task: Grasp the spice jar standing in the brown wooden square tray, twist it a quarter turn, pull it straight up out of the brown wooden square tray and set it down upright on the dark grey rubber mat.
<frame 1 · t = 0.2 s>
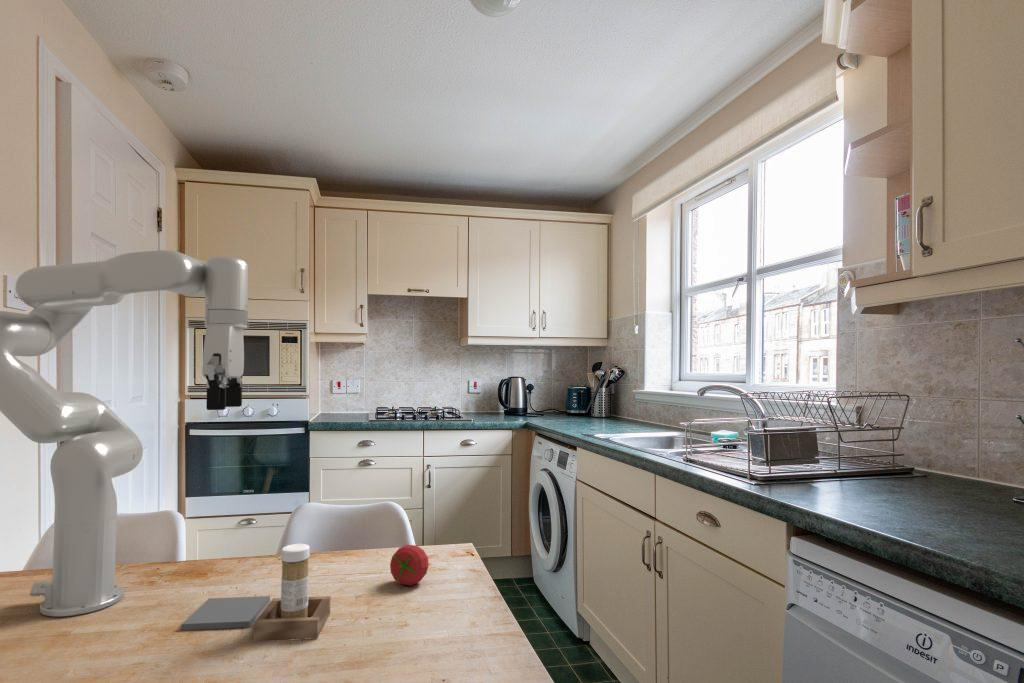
hand: (224, 408, 112), 36 cm above the table, tool pointing down, fingers open, 9 cm apart
brown wooden square tray: (294, 626, 98), on the table
spice jar: (294, 627, 98), resting in brown wooden square tray
mat: (228, 614, 102), on the table
tomato: (408, 585, 118), on the table
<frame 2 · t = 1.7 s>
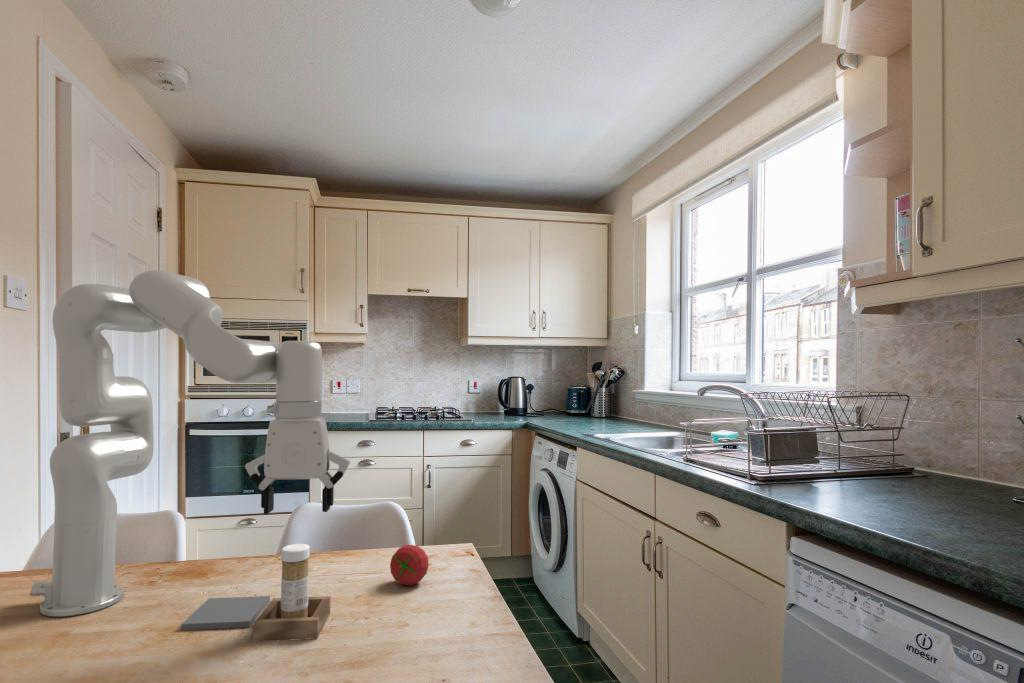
hand: (297, 511, 99), 19 cm above the table, tool pointing down, fingers open, 9 cm apart
nothing on the table moved.
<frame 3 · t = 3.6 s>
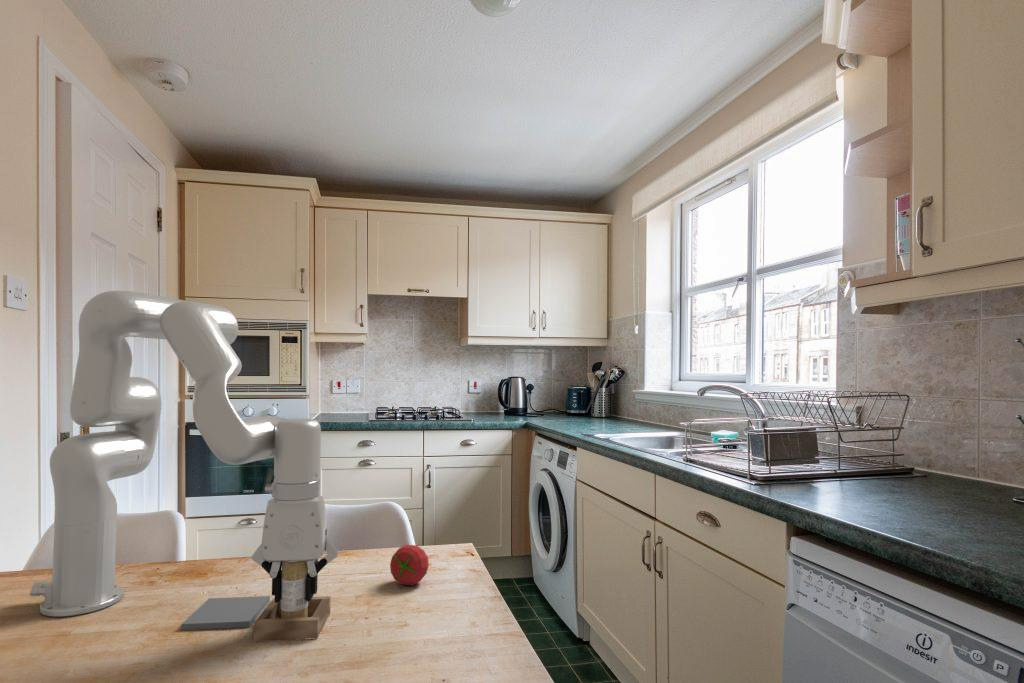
hand: (294, 597, 98), 5 cm above the table, tool pointing down, fingers closed on spice jar, 4 cm apart
spice jar: (294, 627, 98), resting in brown wooden square tray, touching gripper
everything else where it was.
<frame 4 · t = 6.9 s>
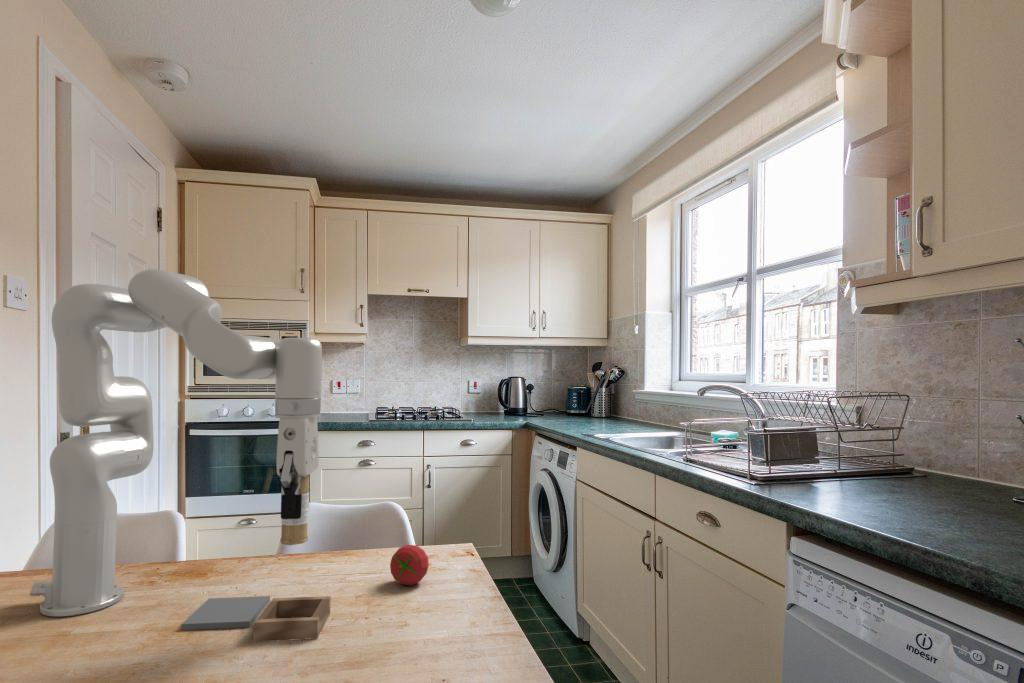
hand: (295, 513, 99), 19 cm above the table, tool pointing down, fingers closed on spice jar, 4 cm apart
spice jar: (294, 543, 99), point 14 cm above the table, touching gripper
everything else where it was.
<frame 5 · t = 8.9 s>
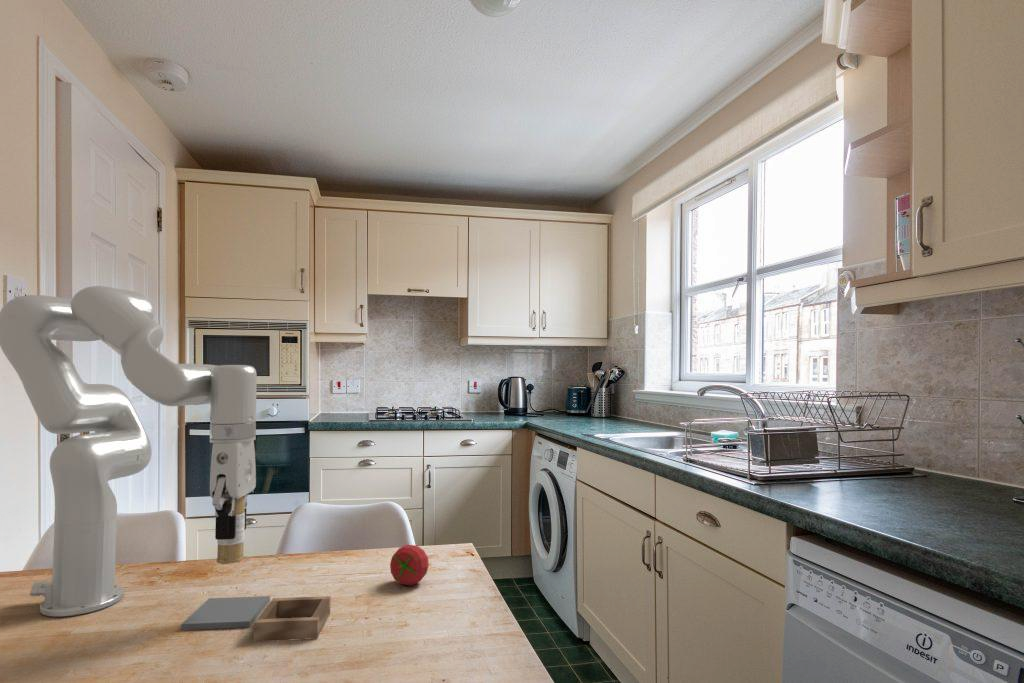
hand: (231, 533, 103), 14 cm above the table, tool pointing down, fingers closed on spice jar, 4 cm apart
spice jar: (230, 562, 103), point 9 cm above the table, touching gripper
everything else where it was.
when the fingers open (8 cm above the table, at t = 10.4 s): spice jar drops 2 cm, resting on mat.
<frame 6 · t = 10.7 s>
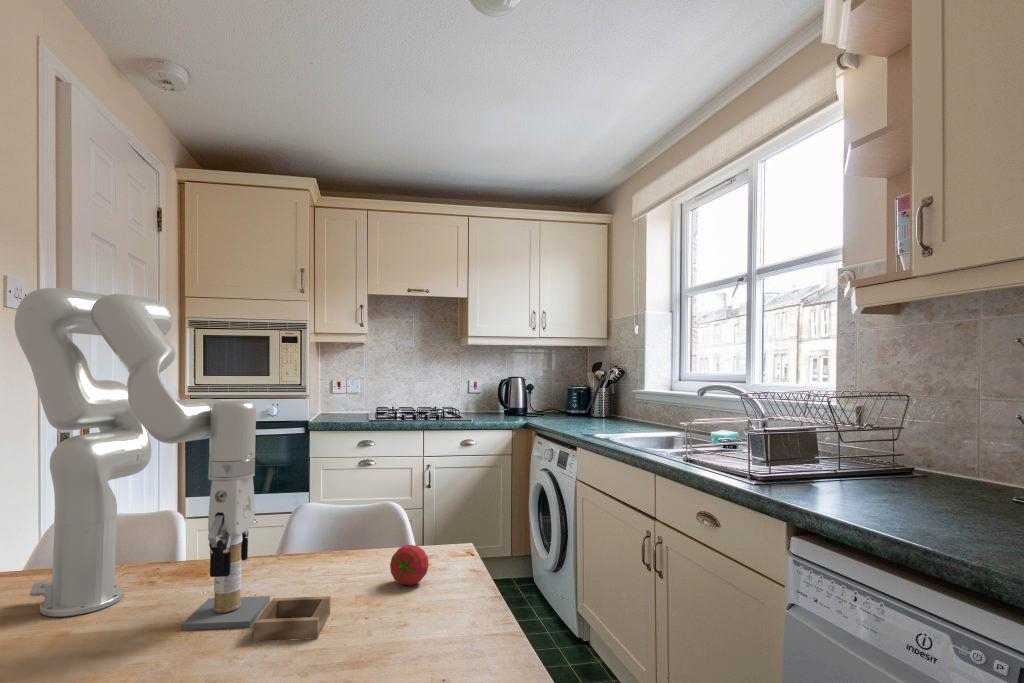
hand: (229, 567, 103), 8 cm above the table, tool pointing down, fingers open, 7 cm apart
spice jar: (227, 609, 103), point 1 cm above the table, touching mat
everything else where it was.
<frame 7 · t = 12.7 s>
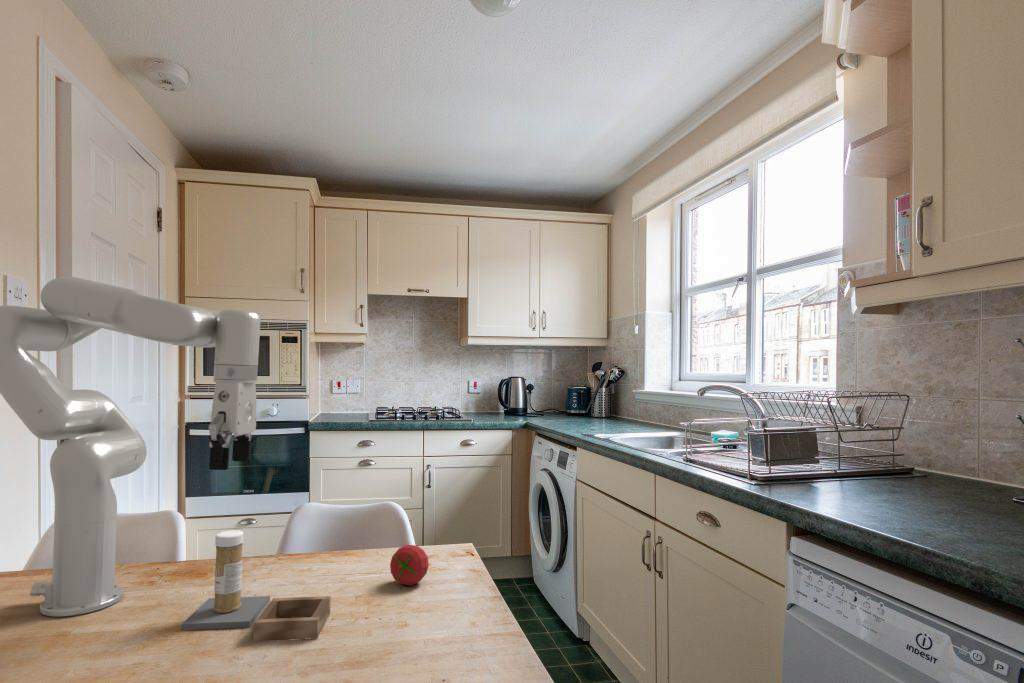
hand: (230, 465, 108), 26 cm above the table, tool pointing down, fingers open, 9 cm apart
nothing on the table moved.
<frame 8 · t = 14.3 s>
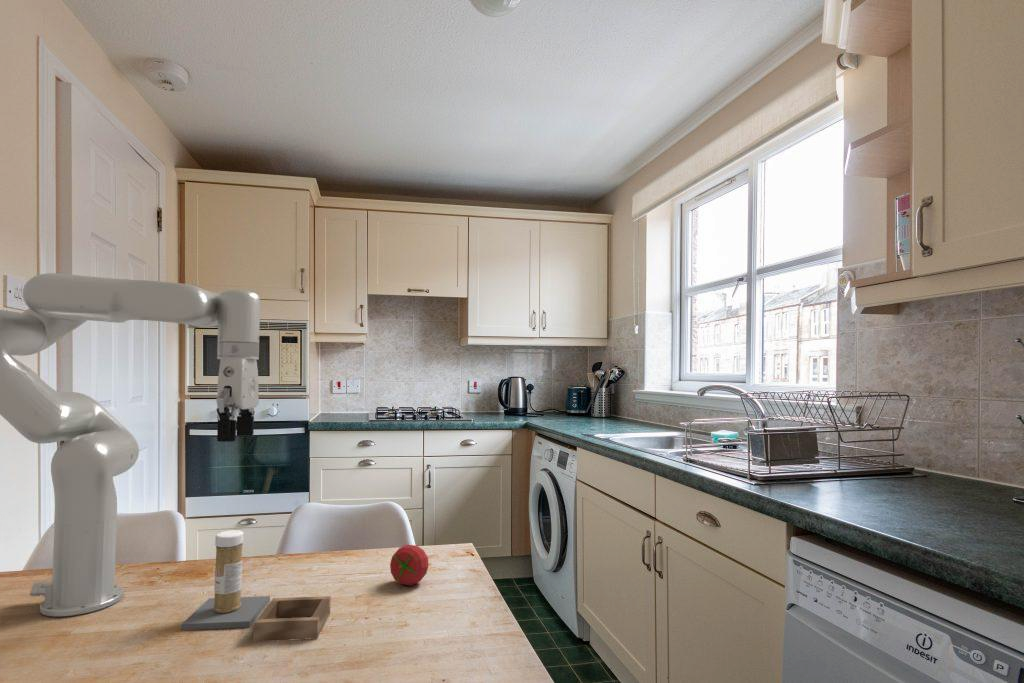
hand: (236, 438, 114), 30 cm above the table, tool pointing down, fingers open, 9 cm apart
nothing on the table moved.
at the end: spice jar 0.2 cm from the mat (horizontally); spice jar tilted 0°; spice jar touching mat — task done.
